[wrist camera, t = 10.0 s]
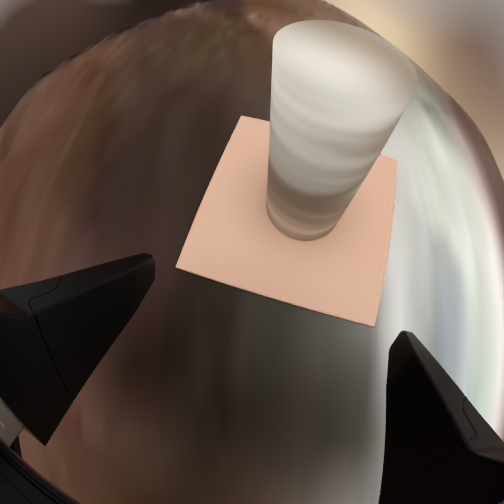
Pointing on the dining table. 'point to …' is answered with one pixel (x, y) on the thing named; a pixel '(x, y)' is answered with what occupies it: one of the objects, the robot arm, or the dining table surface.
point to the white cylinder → (329, 120)
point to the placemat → (285, 248)
